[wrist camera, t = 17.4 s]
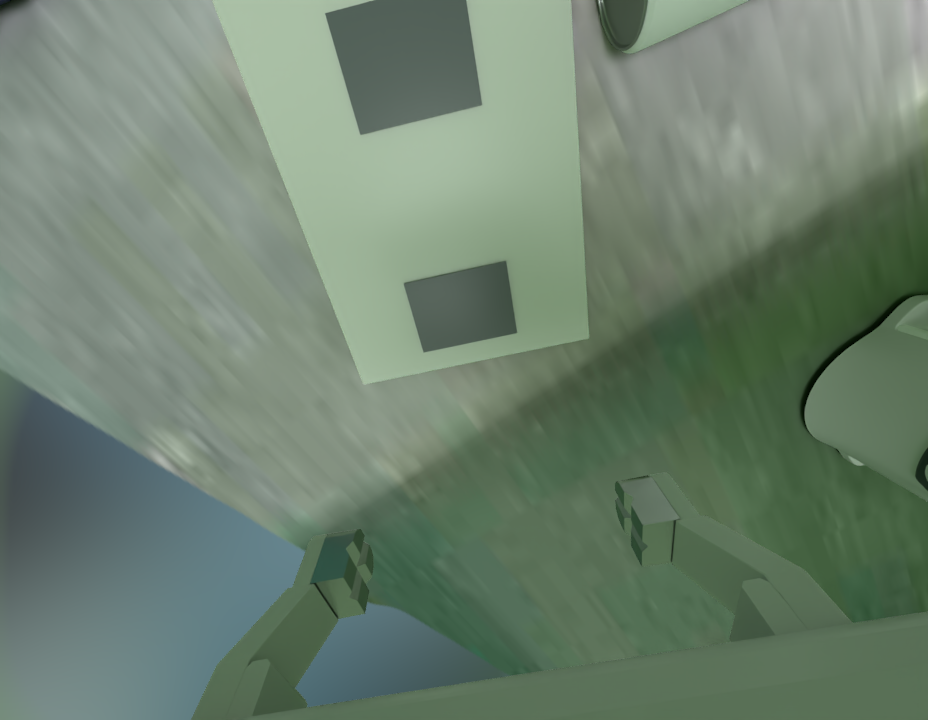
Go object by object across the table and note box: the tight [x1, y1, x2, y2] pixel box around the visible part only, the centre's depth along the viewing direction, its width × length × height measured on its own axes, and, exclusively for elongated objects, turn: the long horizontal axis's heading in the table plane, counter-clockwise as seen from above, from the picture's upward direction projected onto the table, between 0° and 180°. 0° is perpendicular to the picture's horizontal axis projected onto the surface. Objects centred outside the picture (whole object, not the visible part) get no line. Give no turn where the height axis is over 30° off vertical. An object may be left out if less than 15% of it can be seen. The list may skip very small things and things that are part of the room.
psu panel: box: [212, 0, 589, 385], centre depth 26 cm, size 20×28×1 cm
